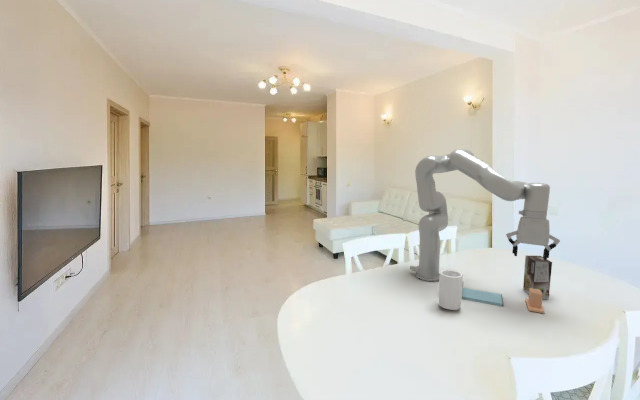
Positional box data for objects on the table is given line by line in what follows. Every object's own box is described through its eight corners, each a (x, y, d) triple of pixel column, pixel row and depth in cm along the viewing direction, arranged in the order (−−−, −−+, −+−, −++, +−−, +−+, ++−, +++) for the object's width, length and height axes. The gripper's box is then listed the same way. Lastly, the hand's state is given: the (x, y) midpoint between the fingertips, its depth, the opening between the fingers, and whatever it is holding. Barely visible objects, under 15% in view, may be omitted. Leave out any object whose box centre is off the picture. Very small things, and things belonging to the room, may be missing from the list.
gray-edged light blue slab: (453, 298, 126) (454, 291, 126) (455, 287, 138) (456, 280, 137) (503, 308, 118) (504, 300, 118) (501, 295, 129) (502, 288, 129)
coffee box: (549, 299, 125) (553, 262, 123) (532, 298, 126) (535, 261, 124) (538, 290, 134) (541, 255, 132) (522, 289, 135) (525, 254, 133)
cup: (460, 304, 121) (462, 270, 119) (462, 314, 113) (464, 278, 111) (437, 301, 124) (439, 268, 122) (438, 311, 116) (439, 275, 114)
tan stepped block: (528, 310, 115) (529, 295, 115) (525, 300, 124) (526, 285, 123) (544, 313, 113) (546, 297, 112) (539, 302, 122) (541, 287, 121)
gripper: (509, 214, 117) (504, 256, 120) (565, 219, 109) (559, 264, 112) (507, 211, 124) (503, 251, 126) (560, 215, 116) (554, 258, 118)
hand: (529, 257), depth 119 cm, fingers open, 9 cm apart
